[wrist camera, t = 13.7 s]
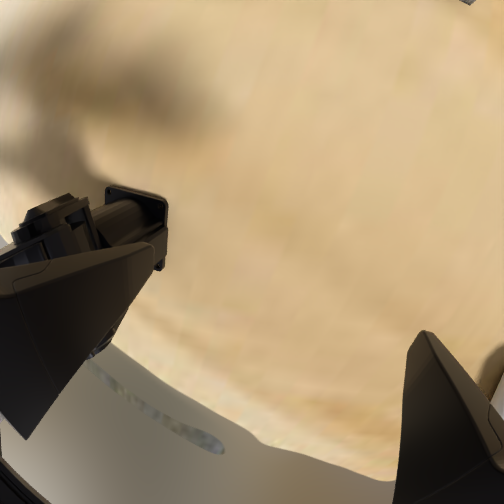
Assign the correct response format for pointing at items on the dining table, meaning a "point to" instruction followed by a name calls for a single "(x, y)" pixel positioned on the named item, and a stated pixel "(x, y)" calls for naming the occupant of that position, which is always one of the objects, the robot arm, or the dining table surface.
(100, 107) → the dining table surface
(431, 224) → the dining table surface
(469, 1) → the serving tray
